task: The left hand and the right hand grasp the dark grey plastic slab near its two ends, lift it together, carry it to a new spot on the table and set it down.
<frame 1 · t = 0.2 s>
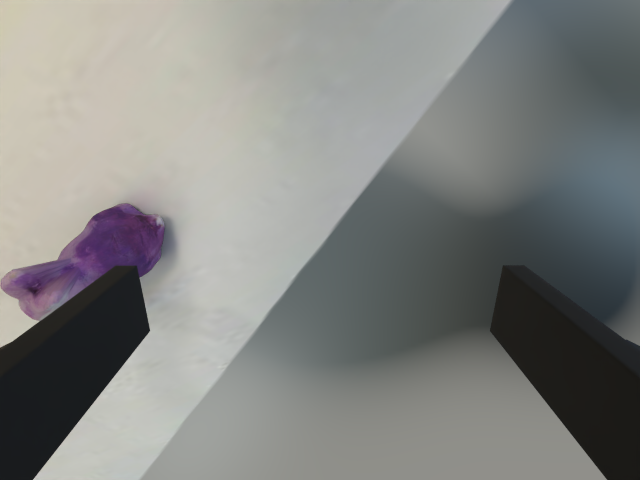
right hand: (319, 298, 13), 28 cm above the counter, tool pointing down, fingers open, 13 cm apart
figurine: (130, 242, 42), on the counter
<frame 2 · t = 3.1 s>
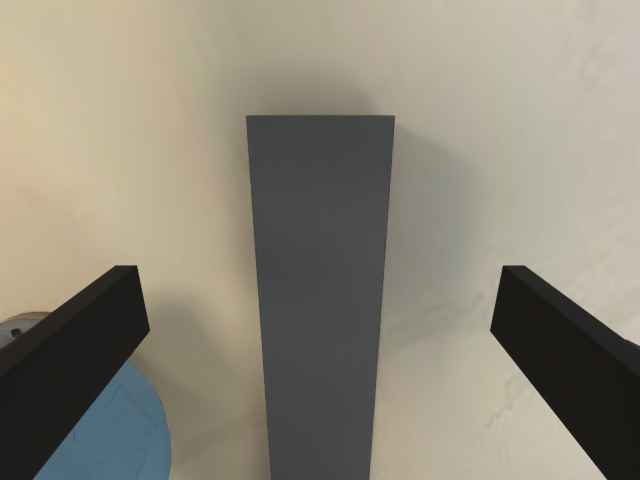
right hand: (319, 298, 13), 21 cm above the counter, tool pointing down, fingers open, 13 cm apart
slab: (320, 389, 40), on the counter, touching left hand
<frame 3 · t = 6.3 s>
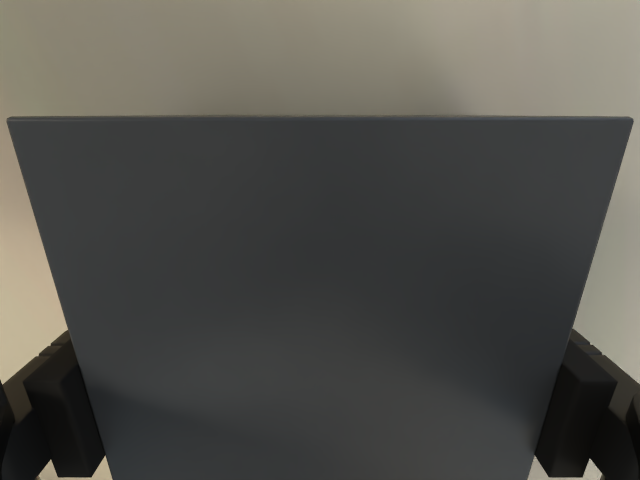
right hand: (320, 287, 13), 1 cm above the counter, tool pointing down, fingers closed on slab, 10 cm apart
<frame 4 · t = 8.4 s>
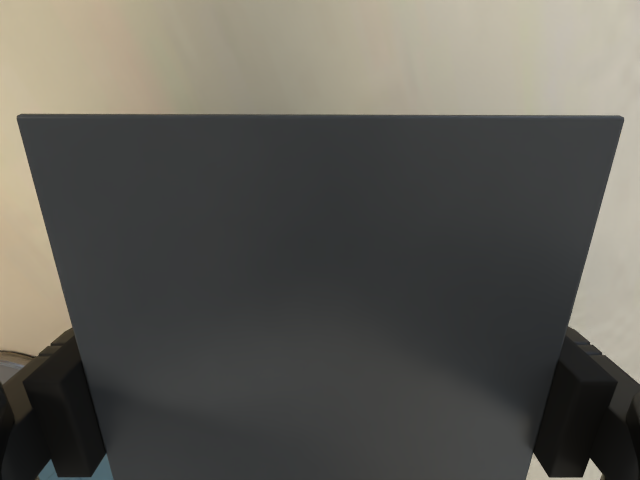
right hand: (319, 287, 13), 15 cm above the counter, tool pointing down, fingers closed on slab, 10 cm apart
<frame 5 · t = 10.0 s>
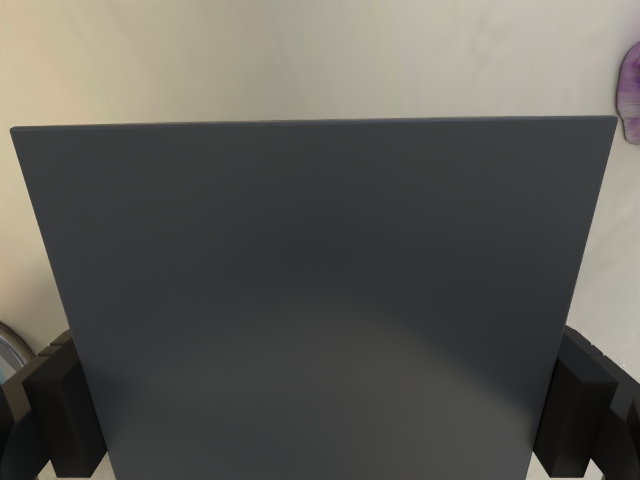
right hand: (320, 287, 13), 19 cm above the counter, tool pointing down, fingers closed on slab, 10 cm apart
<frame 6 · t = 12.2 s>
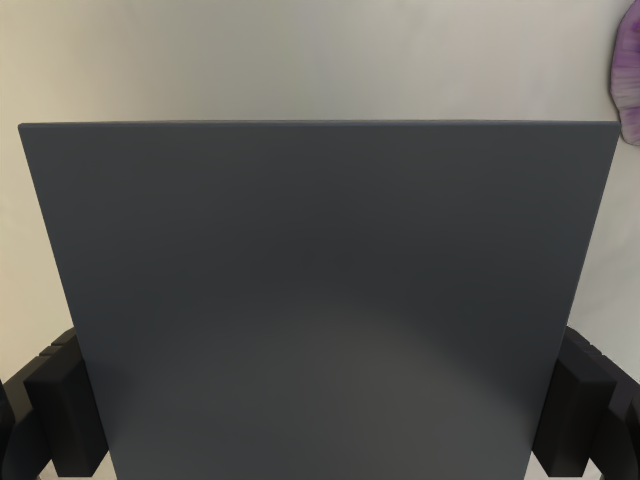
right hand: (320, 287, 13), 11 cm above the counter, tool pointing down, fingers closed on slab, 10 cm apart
when the left hand's fingers open (2 cm above the counter, at t = 14.1 s): slab drops 1 cm, on the counter.
when the right hand's fingers open (2 cm above the counter, at t = 14.1 s): slab drops 1 cm, on the counter.
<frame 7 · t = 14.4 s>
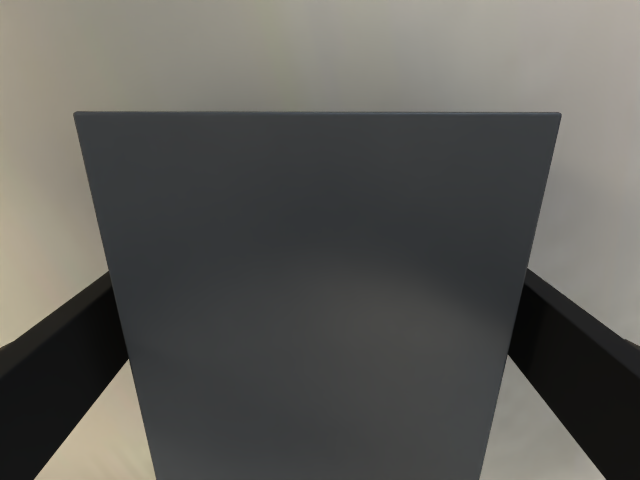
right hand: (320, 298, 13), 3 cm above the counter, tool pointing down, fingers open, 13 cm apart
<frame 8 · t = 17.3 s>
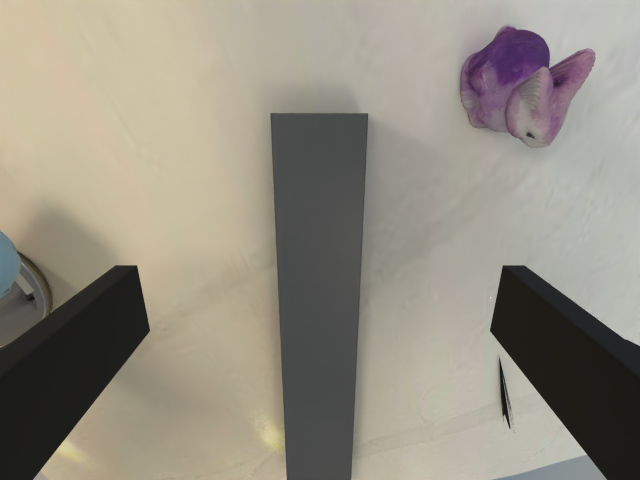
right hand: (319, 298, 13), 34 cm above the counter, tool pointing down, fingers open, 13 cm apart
feather: (499, 369, 56), on the counter
slab: (319, 323, 53), on the counter
figurine: (492, 89, 41), on the counter
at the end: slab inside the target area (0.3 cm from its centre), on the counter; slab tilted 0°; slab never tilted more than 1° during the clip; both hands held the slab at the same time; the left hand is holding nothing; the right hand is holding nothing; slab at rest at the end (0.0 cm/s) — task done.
